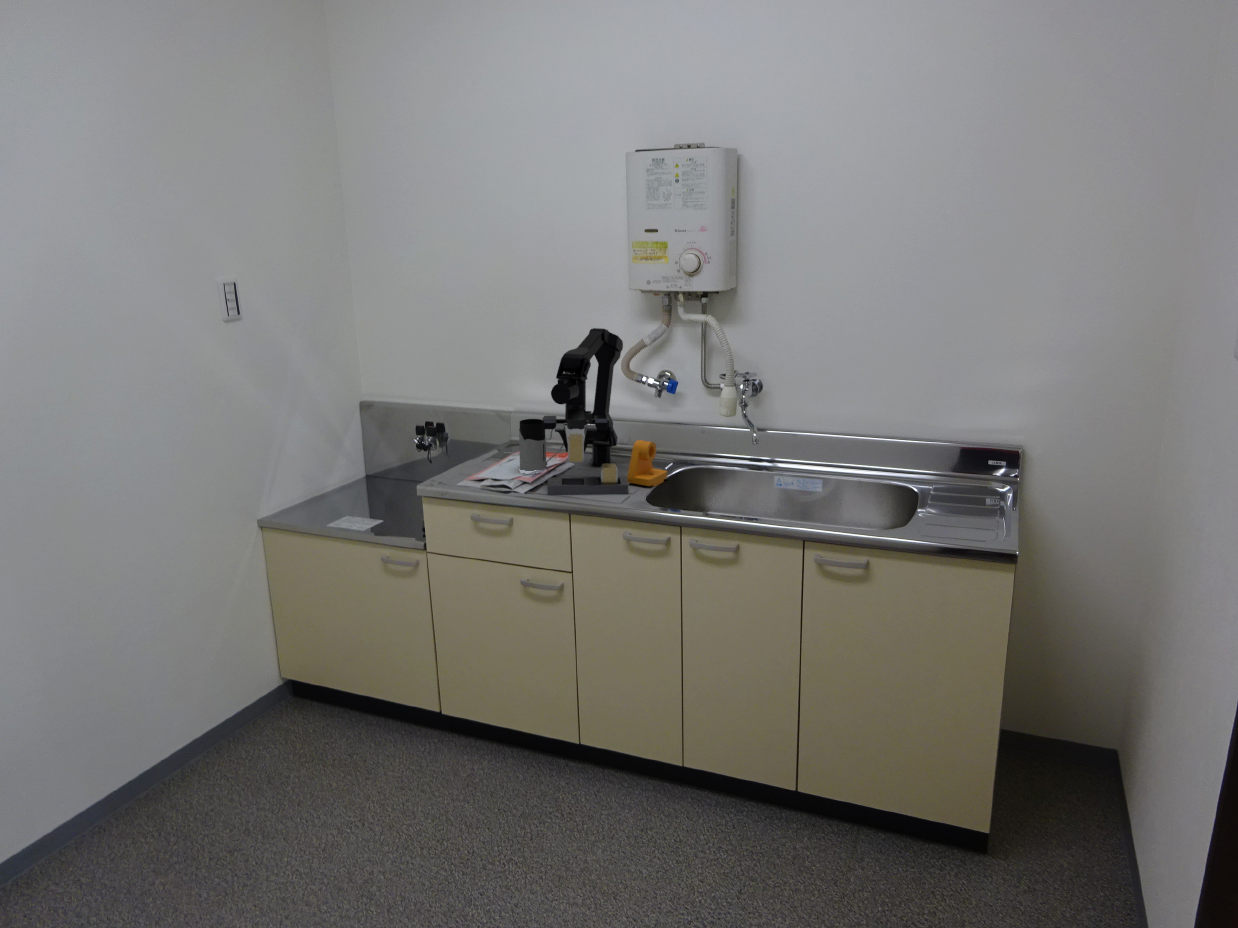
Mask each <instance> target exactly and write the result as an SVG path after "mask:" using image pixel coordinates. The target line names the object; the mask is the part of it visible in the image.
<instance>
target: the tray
mask: <svg viewBox="0 0 1238 928" xmlns="http://www.w3.org/2000/svg"><path fill="white" fill-rule="evenodd" d="M546 490H547V495H548V496H549V495H550V496H552V495H553V496H556V495H557V496H559V495H561V496H562V495H563V496H564V495H567V496H568V495H569V496H570V495H571V496H572V495H574V496H575V495H576V496H577V495H628V494H629V482H627V476H618V484H603V485H601V476H594V477H589V476H587V477H586V476H585V477H581V476H580V477H579V476H578V477H577V476H576V477H570V476H569V477H547V489H546Z"/></svg>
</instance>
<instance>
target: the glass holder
mask: <svg viewBox="0 0 1238 928" xmlns="http://www.w3.org/2000/svg"><path fill="white" fill-rule="evenodd" d="M550 430H551V431H550V435H549V436H550V437H549V438H547V437H546V429H542V418H541V419H539V418H525V419H521V420H520V421H519V429H518V432H519V433H518V436H519V439H518V440H519V443H518V444H519V468H520V470H525V471H534V470H544V469H546V468H547V469H548V467H547V466H548V462H549V461H550V460H552V459H553V458H555V456H557V455H558V453H560V452H561V451H562V449H563V448H564V443H563V442H562V443H561V446H560V449H559V450H558V451H557V452H555V453H554V454H553V455H551V456H550V457H549V458H548V459H547V441H551V439H552V437H553V436H552V435H553V431H554V430H555V428H554V429H550Z"/></svg>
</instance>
